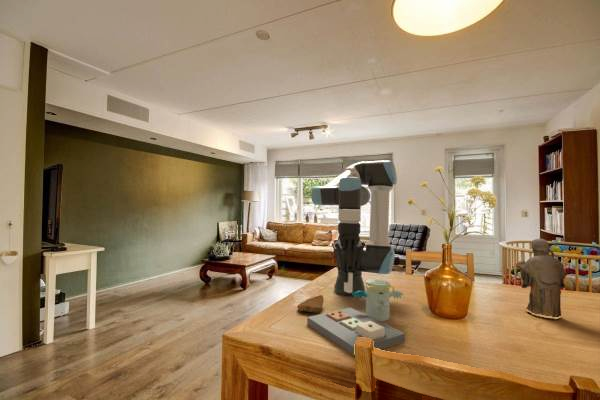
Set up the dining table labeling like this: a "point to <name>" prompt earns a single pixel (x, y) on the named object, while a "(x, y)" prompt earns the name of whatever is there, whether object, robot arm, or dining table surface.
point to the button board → (348, 337)
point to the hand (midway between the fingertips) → (348, 291)
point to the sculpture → (543, 279)
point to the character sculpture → (378, 298)
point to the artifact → (312, 304)
